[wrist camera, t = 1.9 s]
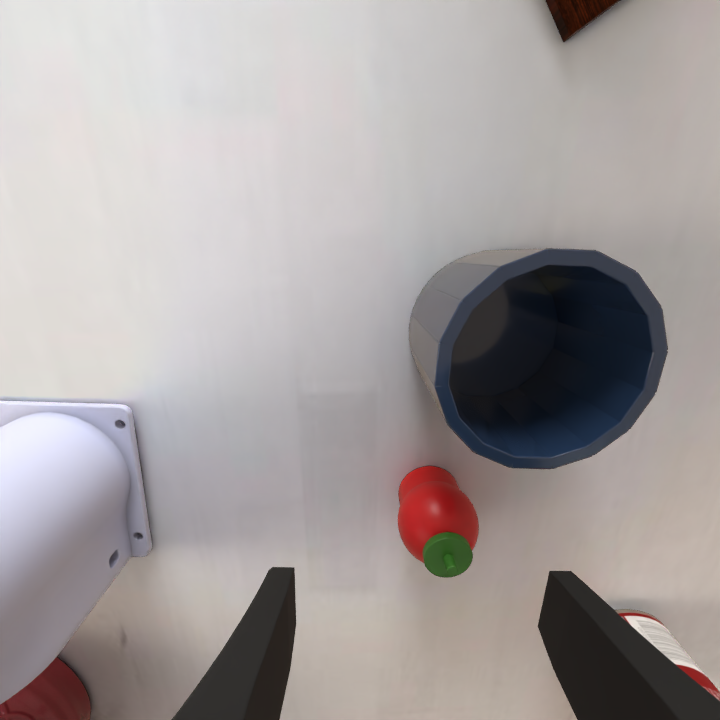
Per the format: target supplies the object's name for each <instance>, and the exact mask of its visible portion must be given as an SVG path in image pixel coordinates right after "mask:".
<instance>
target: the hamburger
mask: <svg viewBox="0 0 720 720" xmlns="http://www.w3.org/2000/svg"><path fill="white" fill-rule="evenodd" d="M619 1H621V0H546V3H547V5H548V7H549V9H550V12H551V14H552V16H553V19H554V21H555V23H556V26H557V28H558V30H559V33H560V35H561V37H562V40H563V42H565V41H566V40H568V39H569V38H570V37H572V36H573V35H574V34H576V33H577V32H578V31H580V30H581V29H583V28H584V27H585V26H587V25H588V24H589V23H591V22H592V21H593V20H595V19H596V18H597V17H599V16H600V15H602V14H603V13H604V12H606V11H607V10H608V9H610V8H611V7H612V6H614V5H615V4H616V3H618V2H619Z"/></svg>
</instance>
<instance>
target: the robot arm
mask: <svg viewBox="0 0 720 720" xmlns="http://www.w3.org/2000/svg"><path fill="white" fill-rule="evenodd" d="M120 420H121V421H123V422H124V423H125V426H124V425H122V424H121V423H120ZM139 533H141V534H142V535H140V534H139ZM151 550H152V541H151V534H150V527H149V521H148V514H147V507H146V501H145V494H144V487H143V480H142V474H141V467H140V460H139V453H138V447H137V440H136V433H135V426H134V420H133V413H132V410H131V409H130V408H129V407H128V406H126V405H123V404H97V403H62V402H27V401H0V704H2V703H3V702H5V701H6V700H8V699H9V698H11V697H12V696H13V695H15V694H16V693H17V692H19V691H20V690H21V689H23V688H24V687H25V686H27V685H28V684H29V683H30V682H32V681H33V680H34V679H35V678H36V677H37V676H38V675H39V674H40V673H42V672H43V671H44V670H45V669H46V668H47V667H48V666H49V664H50V663H51V662H52V661H53V660H54V659H55V658H56V657H57V655H58V654H59V653H60V652H61V650H62V649H63V648H64V646H65V645H66V644H67V642H68V641H69V640H70V638H71V637H72V636H73V634H74V633H75V632H76V630H77V629H78V628H79V626H80V625H81V624H82V622H83V621H84V620H85V618H86V617H87V616H88V614H89V613H90V612H91V610H92V609H93V607H94V606H95V605H96V603H97V602H98V601H99V599H100V598H101V597H102V595H103V594H104V593H105V591H106V590H107V589H108V587H109V586H110V585H111V583H112V582H113V581H114V579H115V578H116V577H117V575H118V574H119V573H120V571H121V570H122V568H123V567H124V566H125V564H126V563H127V562H128V560H129V559H130V558H131V557H145V556H147V555H148V554H149V552H150V551H151ZM295 628H296V606H295V573H294V568H286V567H272V568H271V569H270V570H269V571H268V573H267V575H266V577H265V579H264V581H263V583H262V585H261V587H260V589H259V590H258V592H257V594H256V596H255V598H254V599H253V601H252V603H251V604H250V606H249V608H248V610H247V611H246V613H245V615H244V616H243V618H242V620H241V621H240V623H239V624H238V626H237V627H236V629H235V631H234V632H233V634H232V635H231V637H230V638H229V640H228V642H227V643H226V645H225V646H224V648H223V649H222V651H221V652H220V654H219V655H218V657H217V658H216V660H215V661H214V662H213V664H212V665H211V667H210V668H209V670H208V671H207V672H206V674H205V675H204V677H203V678H202V680H201V681H200V683H199V684H198V685H197V687H196V688H195V689H194V691H193V692H192V694H191V695H190V696H189V698H188V699H187V700H186V702H185V703H184V704H183V706H182V707H181V708H180V710H179V711H178V712H177V713H176V715H175V716H174V717H173V719H172V720H279V718H280V714H281V709H282V704H283V700H284V695H285V690H286V686H287V681H288V676H289V672H290V666H291V659H292V651H293V644H294V636H295ZM538 628H539V631H540V633H541V636H542V639H543V642H544V645H545V648H546V650H547V653H548V656H549V658H550V661H551V663H552V666H553V669H554V671H555V673H556V676H557V678H558V680H559V682H560V684H561V686H562V688H563V690H564V692H565V694H566V697H567V699H568V701H569V703H570V705H571V707H572V709H573V711H574V713H575V715H576V717H577V719H578V720H720V701H719V700H718V699H717V698H715V697H714V696H713V695H712V694H711V693H709V692H708V691H707V690H706V689H705V688H703V687H702V686H701V685H700V684H698V683H697V682H696V681H695V680H694V679H692V678H691V677H690V676H689V675H688V674H686V673H685V672H684V671H683V670H682V669H680V668H679V667H678V666H677V665H676V664H674V663H673V662H672V661H671V660H670V659H669V658H667V657H666V656H665V655H664V654H663V653H662V652H660V651H659V650H658V649H657V648H656V647H655V646H654V645H652V644H651V643H650V642H649V641H648V640H647V639H646V638H645V637H643V636H642V635H641V634H640V633H639V632H638V631H637V630H636V629H634V628H633V627H632V626H631V625H630V624H629V623H628V622H627V621H626V620H624V619H623V618H622V617H621V616H620V615H619V614H618V613H617V612H616V611H615V610H613V609H612V608H611V607H610V606H609V605H608V604H607V603H606V602H605V601H604V600H602V599H601V598H600V597H599V596H598V595H597V594H596V593H595V592H594V591H593V590H592V589H590V588H589V587H588V586H587V585H586V584H585V583H584V582H583V581H582V580H580V579H579V578H578V577H577V576H576V575H575V574H574V573H572V572H571V571H550V572H549V576H548V581H547V586H546V590H545V595H544V600H543V605H542V609H541V614H540V619H539V623H538Z"/></svg>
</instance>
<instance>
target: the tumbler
mask: <svg viewBox="0 0 720 720" xmlns="http://www.w3.org/2000/svg"><path fill="white" fill-rule="evenodd" d="M409 342H410V348H411V352H412V356H413V358H414V361H415V363H416V365H417V368H418V371H419V373H420V375H421V377H422V379H423V381H424V382H425V384H426V386H427V388H428V390H429V392H430V394H431V395H432V397H433V399H434V401H435V403H436V405H437V407H438V408H439V410H440V412H441V414H442V416H443V418H444V420H445V421H446V423H447V425H448V426H449V427H450V428H451V429H452V430H453V431H454V433H455V434H456V435H457V436H458V437H459V438H460V439H461V440H462V441H463V442H464V443H465V444H466V445H467V446H468V447H469V448H470V449H471V450H472V451H473V452H474V453H476V454H478V455H480V456H483V457H485V458H488V459H490V460H492V461H495V462H497V463H500V464H502V465H504V466H507V467H509V468H510V467H511V468H526V469H551V468H552V469H554V468H557V467H560V466H563V465H567V464H570V463H573V462H576V461H579V460H582V459H585V458H589V457H592V456H593V455H595V454H597V453H598V452H599V451H601V450H602V449H604V448H605V447H606V446H608V445H609V444H611V443H612V442H613V441H615V440H616V439H618V438H619V437H620V436H622V435H623V434H625V433H626V432H627V431H628V430H629V429H631V427H632V426H633V425H634V423H635V422H636V420H637V419H638V418H639V416H640V415H641V413H642V412H643V411H644V409H645V408H646V407H647V405H648V404H649V402H650V401H651V400H652V398H653V397H654V396H655V393H656V392H657V388H658V385H659V381H660V378H661V374H662V370H663V367H664V363H665V360H666V356H667V353H668V351H667V350H668V346H667V339H666V332H665V325H664V317H663V310H662V308H661V305H660V304H659V302H658V301H657V299H656V298H655V297H654V295H653V294H652V292H651V291H650V289H649V288H648V286H647V285H646V284H645V282H644V281H643V279H642V278H641V276H640V275H639V273H637V272H636V271H635V270H633V269H631V268H630V267H628V266H626V265H624V264H622V263H620V262H618V261H616V260H614V259H612V258H611V257H609V256H607V255H605V254H603V253H601V252H599V251H596V250H579V249H554V248H545V249H515V250H486V251H481V252H478V253H473V254H470V255H467V256H464V257H461V258H459V259H457V260H455V261H453V262H451V263H450V264H448V265H446V266H445V267H444V268H442V269H441V270H440V271H439V272H437V273H436V274H435V275H434V276H433V277H432V278H431V279H430V280H429V281H428V283H427V284H426V285H425V287H424V288H423V289H422V291H421V293H420V294H419V296H418V298H417V300H416V302H415V305H414V307H413V310H412V314H411V317H410V324H409Z"/></svg>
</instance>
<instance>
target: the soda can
mask: <svg viewBox="0 0 720 720" xmlns="http://www.w3.org/2000/svg"><path fill="white" fill-rule="evenodd" d="M615 611H616V612H617V613H618V614H619V615H620V616H621V617H622V618H623V619H624V620H626V621H627V622H628V623H629V624H630V625H631V626H632V627H633V628H634V629H636V630H637V631H638V632H639V633H640V634H641V635H642V636H643V637H645V638H646V639H647V640H648V641H649V642H650V643H651V644H652V645H654V646H655V647H656V648H657V649H658V650H659V651H660V652H662V653H663V654H664V655H665V656H666V657H667V658H669V659H670V660H671V661H672V662H673V663H674V664H676V665H677V666H678V667H679V668H680V669H682V670H683V671H684V672H685V673H686V674H688V675H689V676H690V677H691V678H692V679H694V680H695V681H696V682H697V683H698V684H700V685H701V686H702V687H703V688H705V689H706V690H707V691H708V692H709V693H711V694H712V695H713V696H714V697H715V698H717V699H718V700H719V701H720V692H719V691H718V689H717V688H716V687H715V686H714V685H713V683H712V682H711V681H710V680H709V679H708V677H707V676H706V675H705V674H704V673H703V671H702V670H701V669H700V668H699V667H698V665H697V664H696V663H695V662H694V661H693V659H692V658H691V657H690V656H689V655H688V653H687V652H686V651H685V650H684V649H683V647H682V646H681V645H680V644H679V643H678V641H677V640H676V639H675V638H674V637H673V635H672V634H671V633H670V632H669V631H668V629H667V628H666V627H665V626H664V625H663V624H662V623H661V621H659V620H658V619H657V618H655V617H654V616H652V615H650V614H648V613H645V612H642V611H638V610H631V609H621V610H615Z"/></svg>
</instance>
